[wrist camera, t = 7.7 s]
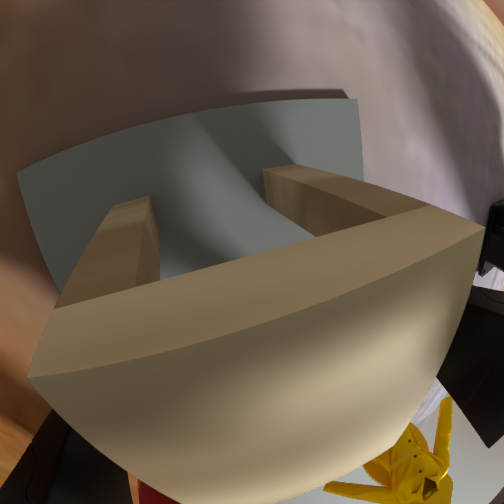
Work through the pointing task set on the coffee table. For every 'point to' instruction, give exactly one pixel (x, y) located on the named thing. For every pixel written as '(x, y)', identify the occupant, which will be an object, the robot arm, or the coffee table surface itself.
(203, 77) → the coffee table surface
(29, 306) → the coffee table surface
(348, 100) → the felt pad
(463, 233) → the stool
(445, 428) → the figure statuette
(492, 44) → the coffee table surface
